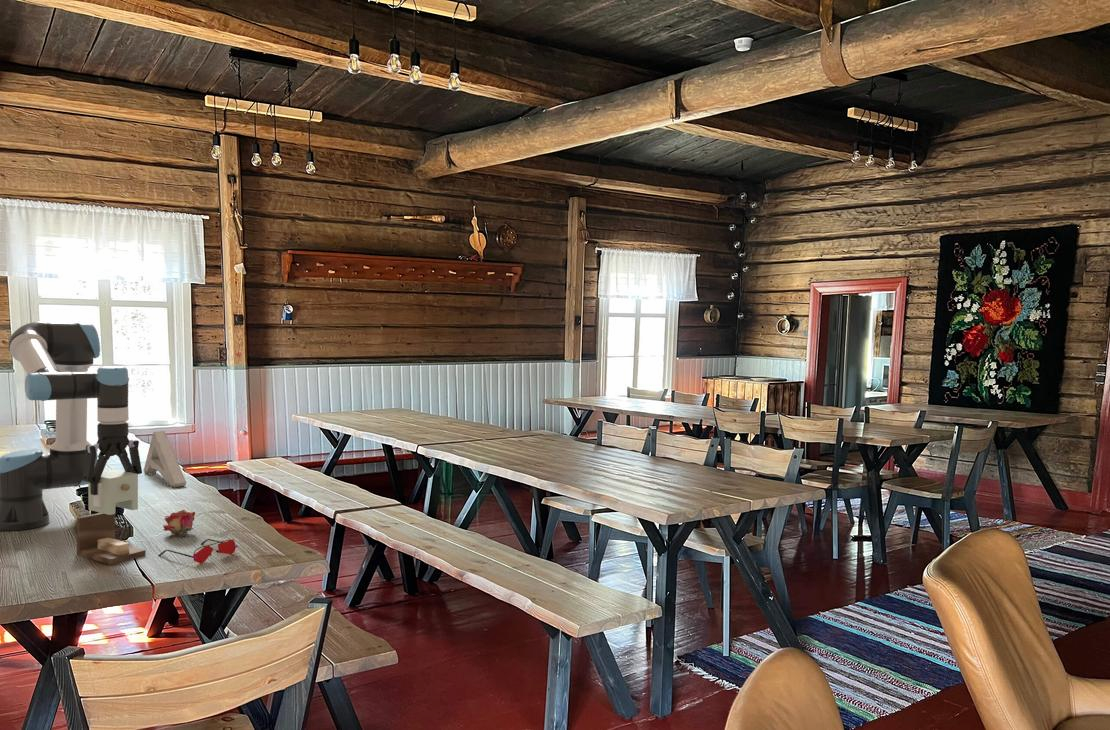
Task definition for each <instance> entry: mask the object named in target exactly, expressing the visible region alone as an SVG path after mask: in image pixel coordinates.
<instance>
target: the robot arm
mask: <svg viewBox="0 0 1110 730" xmlns="http://www.w3.org/2000/svg"><path fill="white" fill-rule="evenodd" d="M7 343H8V344H7V347H8V351H9V353H10V355H11V357H12V358H13V359H15V360H16V361H17V362H19V363H20V365H21V366H22V368H23V370H24V372H25V373H26V376H25V379H24V392H25V396H26V398H27V400H30V401H41V402H44V401H45V402H46V401H55V441H54V442H53V443H52V444H51V445H50V446H49V452H44V451H43V450H42V449H40V448H31V449H30V448H29V449H28V448H27V449H21V450H16V451H12V452H11V451H10V452H9V453H4V454H2V455H1V456H0V531H1V532H3V531H4V532H6V531H7V532H10V531H23V530H24V531H25V530H30V529H31V530H32V529H36V528H40V527H43V526H46V525H47V524H49V523H50V515H49V511H48V509H47V507H46V504H45V501H44V499H43V490H52V489H60V488H70V487H75V488H76V487H79V486H86V485H88V482H89V483H90V493H91V495H93V506H97V507H102V483H99V480H100V477H101V475H102V473H103V472H104V470H105V468H106V465H107V463H108V460H110V458H111V457H114V456H117V457H118V459H119V461H120V463H121V465H122V467H123V471H126V472H131V473H136V474H138V475H141V474H142V473H143V470H142V463H141V458H140V453H139V446H140V441H139V440H137V439H129V436H128V435H129V423H128V422H127V421H128V420H129V381H130V378H129V371H128V368H127V367H125V366H114V365H113V366H110V365H109V366H100V367H98V368H97V370H94V371H88V369H89V368H91V367H92V366H93V365H94V359H97V358H100V356H101V343H100V338H99V334H98V331H97V328H96V327H95V326H94V324H92V323H91V322H85V321H44V320H40V321H39V320H38V321H33V322H29V323H26V324H24V325H21V326H20V327H19V328H17V329H15V330H14V332H13V333H11V335H10V336H9V339H8V342H7ZM88 399H96V400H97V403H96V404H97V405H96V406H97V413H96V414H97V415H96V416H97V417H96V419H97V422H99V423H97V425H96V426H97V427H96V428H97V432H96V433H97V434H96V435H97V442H96V443H94V444H91V443H90V442H89V441H88V440H87V434H88V433H87V431H88V430H87V429H88V427H87V425H88V423H87V421H88ZM129 421H130V420H129ZM127 447H128V451H129V453H128V452H127V450H126V449H127ZM98 452H99V453H98ZM128 455H129V456H130V458H129V456H128Z"/></svg>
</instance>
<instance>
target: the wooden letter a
mask: <svg viewBox="0 0 1110 730" xmlns="http://www.w3.org/2000/svg"><path fill="white" fill-rule="evenodd" d="M147 451H148V452H147V456H146V459H145V463H144V467H143V473H144V475H148V473H150V474H155V473H154V472H156V473H157V472H159V473H160V475H161V476H162V477H163V479H164V481H165V483H166V485H167V484H168V485H167V486H170V487H171V486H173V487H172V488H178V487H186V485H187V481H186V477H185V476H184V473H183V471H182V468H181V467H180V464H179V462H178V460H177V457H176V454H175V451H174V449H173V447H172V444H171V442H170V440H169V438H168V435H167V432H166V431H165V430H164V431H161V430H160V431H153V432H152V437H151V440H150V444H149V447H148V450H147Z"/></svg>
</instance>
